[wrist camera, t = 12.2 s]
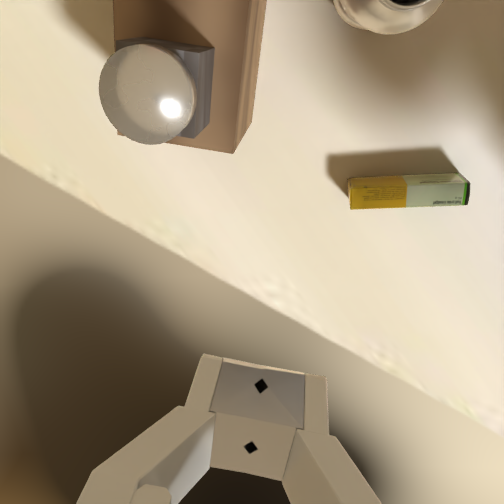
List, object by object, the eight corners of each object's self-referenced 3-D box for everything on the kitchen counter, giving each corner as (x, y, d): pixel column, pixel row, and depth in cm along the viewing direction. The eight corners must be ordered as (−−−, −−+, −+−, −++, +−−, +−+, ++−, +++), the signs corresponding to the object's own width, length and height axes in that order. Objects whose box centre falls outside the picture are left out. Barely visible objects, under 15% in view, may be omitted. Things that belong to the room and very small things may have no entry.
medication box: (460, 170, 46) (472, 181, 42) (457, 193, 47) (469, 207, 43) (347, 176, 48) (349, 188, 44) (346, 199, 49) (349, 212, 45)
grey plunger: (215, 46, 31) (193, 53, 25) (209, 128, 34) (188, 151, 28) (135, 33, 31) (96, 38, 26) (136, 117, 34) (101, 136, 29)
